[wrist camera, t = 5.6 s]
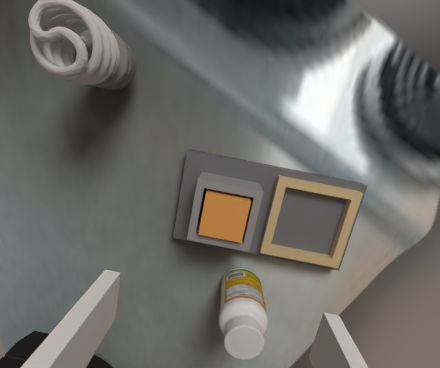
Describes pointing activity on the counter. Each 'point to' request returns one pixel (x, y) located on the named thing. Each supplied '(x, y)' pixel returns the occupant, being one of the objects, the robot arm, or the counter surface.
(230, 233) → the switch button
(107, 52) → the light bulb
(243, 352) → the supplement bottle
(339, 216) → the base
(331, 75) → the counter surface
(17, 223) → the counter surface
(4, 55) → the counter surface
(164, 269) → the counter surface
